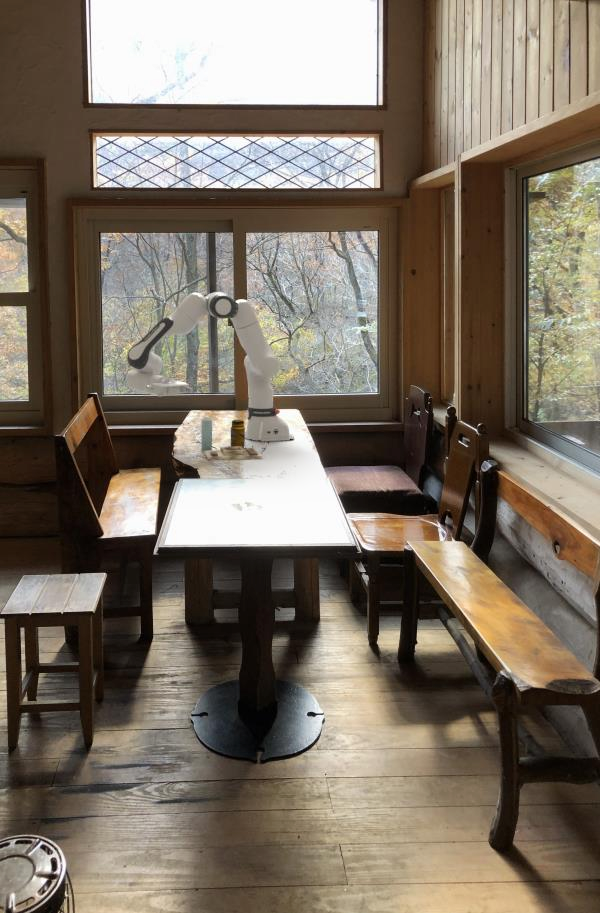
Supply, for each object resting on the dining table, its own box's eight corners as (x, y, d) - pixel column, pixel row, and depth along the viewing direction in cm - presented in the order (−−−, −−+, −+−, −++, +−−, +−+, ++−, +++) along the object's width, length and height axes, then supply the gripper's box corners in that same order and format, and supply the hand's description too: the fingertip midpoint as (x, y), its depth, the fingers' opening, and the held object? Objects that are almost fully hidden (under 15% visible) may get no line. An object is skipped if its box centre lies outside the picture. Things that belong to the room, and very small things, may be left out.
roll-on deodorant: (211, 449, 389) (211, 414, 386) (212, 451, 384) (212, 416, 381) (200, 449, 388) (201, 415, 385) (202, 451, 383) (202, 416, 380)
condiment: (248, 449, 392) (248, 421, 390) (231, 450, 388) (231, 422, 385) (239, 445, 398) (240, 418, 396) (222, 447, 393) (223, 420, 391)
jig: (255, 452, 385) (255, 445, 385) (261, 458, 373) (261, 451, 372) (203, 453, 380) (203, 446, 380) (208, 459, 368) (208, 452, 367)
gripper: (144, 379, 383) (171, 385, 377) (173, 377, 401) (199, 383, 394) (143, 394, 384) (170, 400, 378) (171, 391, 402) (198, 397, 396)
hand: (185, 391), depth 386 cm, fingers open, 8 cm apart
